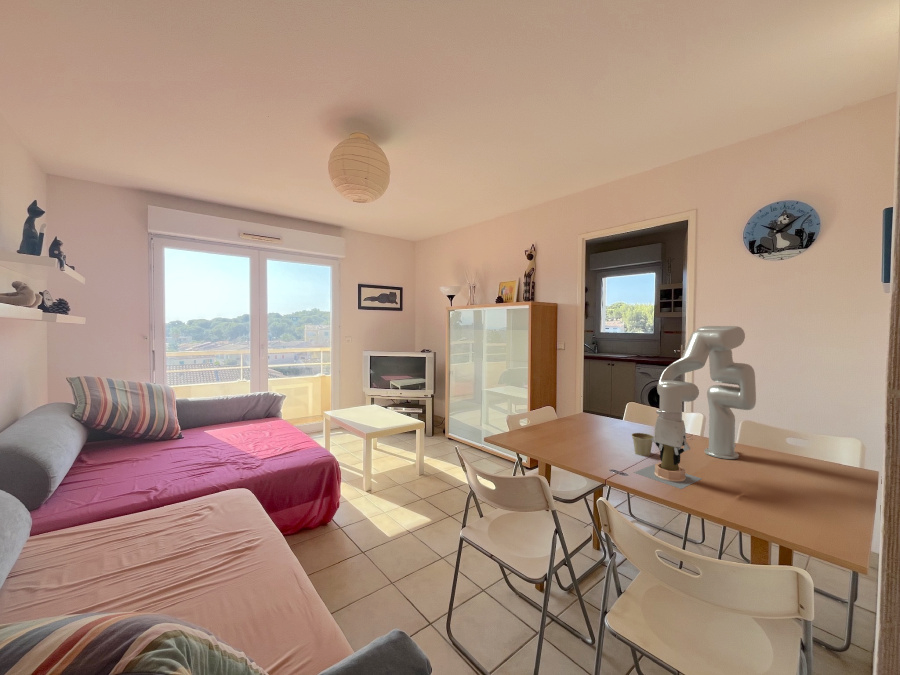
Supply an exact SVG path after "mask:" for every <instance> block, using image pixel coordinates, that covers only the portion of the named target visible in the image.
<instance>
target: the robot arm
mask: <svg viewBox="0 0 900 675" xmlns="http://www.w3.org/2000/svg"><path fill="white" fill-rule="evenodd" d="M745 339H746V332H745V330H744V329H743V328H742V327H741V326H736V325H707V326H705V325H704V326H701V327H698V328H697V329H696V330H695V331H693V332H692V333H691V334H690V336H689V339H688V340H687V343H686V346H685V348H684V350H683V353H682V356H681V357H680V358H679V359H677V360H675V361H674V362H672V363H670V364H669V365H668V366H667V367H666V368H665V369H664V370H663V371H662V373H661V375H660V378H659V379H658V383H657V386H656V390H657V394H658V395H659V409H657V410H656V412H655V413H656V414H658V417H656V421H655V424H654V425H655V427H654V433H653V436H654V437H653V438H652V441H653V442H652V443H653V444H655V446H656V447H657V448H658V450H659V458H660V461H661V462H662V457H663V451H664V447H663V444H664V445H668V446H671V447H674V451H675V454H674V455H673V459H674V465H677V464H678V465H679V464H680V463H681V455H682V454H683V453H684V452H686V451H689V450H691V447H690V445H689V444H688V442H687V431H686V425H685V421H684V420H683V402H686V403H687V402H688V403H689V402H693V401H695V400H697V398H698V397H699V395H700V390H699V387H698V386H697V385H696V384H694V383H693V382H689V381H688V382H687V381H681V380H680V381H679V380H675V379H676V378H677V377H679V376H680V375H682V374H687V373H690V372H694V371H697V370H700V369H703V368H704V367H705V365H706V363H707V360H708V361H709V362H708V363H709V365H708V366H709V375H710V379H711V381H713V382H715V383H719V384H715V385H711V386H709V387H708V389H707V391H706V397H707V402H708V403H707V404H708V412H709V414H708V415H709V416H708V417H709V420H708V447H706V448H704V453H705V454H706V455H708V456H710V457H714V458H717V459H725V460H736V459H737V460H738V459H739V457H740V454H739V453H738V452H737V451H735V448H736V446H737V444H736V441H735V440H736V437H735V436H736V415H735V414H734V413H733V411H732V409H737V410H741V411H742V410H743V411H751V410H753V409H754V408H755V407H756V403H757V391H756V389H757V388H756V386H757V385H756V372H755V370H754V368H753V367H752V365H750V364H748V363H742V362H734V359H733V351H732V350H733V349H737V348H738V347H740V346H741V345H743V343H744V342H745ZM720 383H721V384H720ZM723 384H728V385H723ZM732 385H737V386H732Z"/></svg>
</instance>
